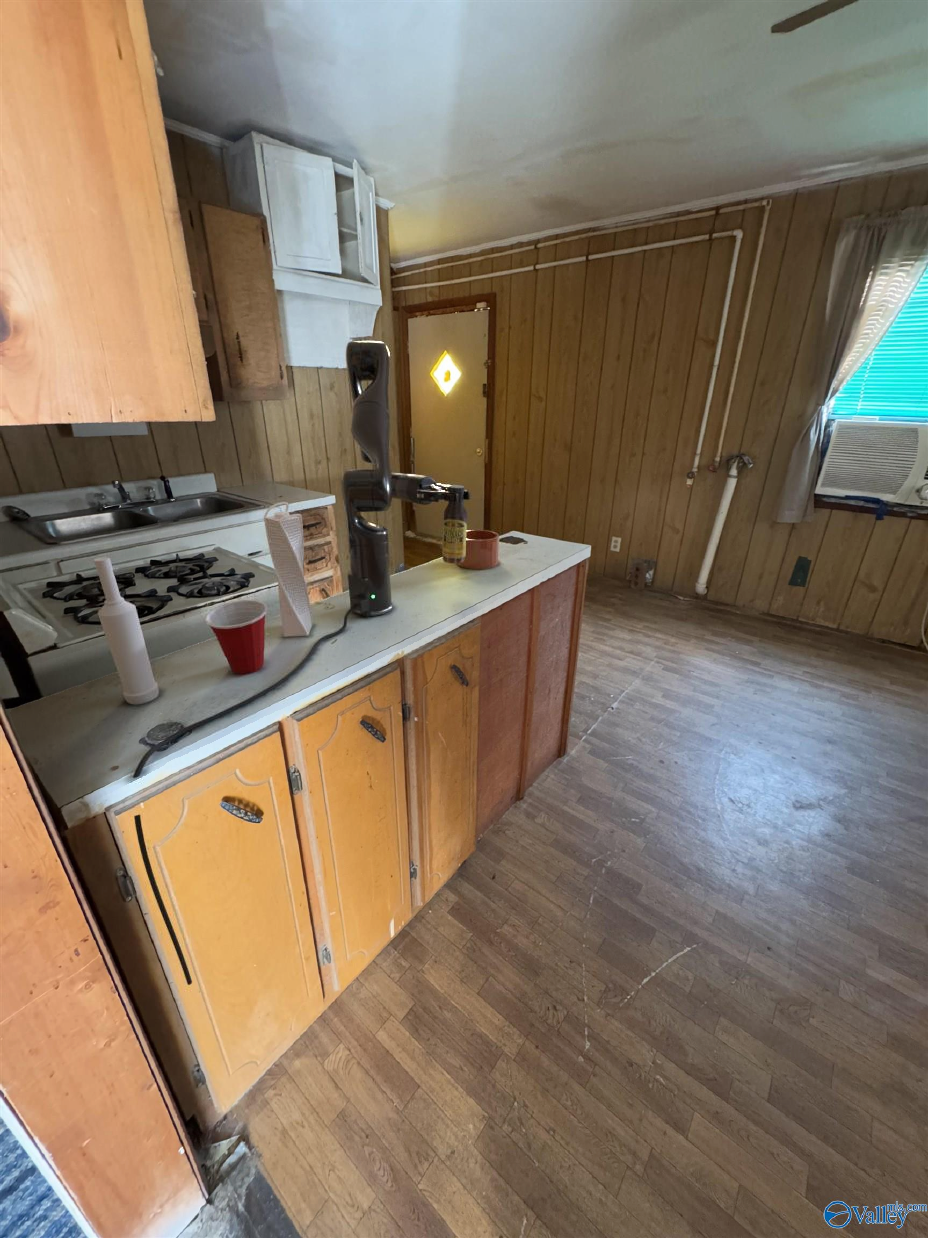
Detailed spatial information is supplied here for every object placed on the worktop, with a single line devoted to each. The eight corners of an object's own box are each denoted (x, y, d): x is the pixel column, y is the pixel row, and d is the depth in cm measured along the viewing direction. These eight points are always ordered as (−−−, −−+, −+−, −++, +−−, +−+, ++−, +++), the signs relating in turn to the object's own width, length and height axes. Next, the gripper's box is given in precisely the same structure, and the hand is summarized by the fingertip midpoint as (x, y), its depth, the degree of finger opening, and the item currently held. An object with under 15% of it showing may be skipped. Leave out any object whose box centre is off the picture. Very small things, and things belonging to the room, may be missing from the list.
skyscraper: (285, 623, 115) (267, 501, 104) (318, 622, 116) (303, 500, 105) (277, 639, 108) (256, 509, 97) (313, 637, 109) (296, 508, 97)
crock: (480, 572, 150) (481, 542, 146) (449, 563, 157) (448, 535, 154) (506, 562, 159) (507, 534, 155) (474, 554, 166) (475, 527, 163)
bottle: (123, 708, 84) (77, 565, 74) (128, 692, 89) (85, 556, 78) (158, 701, 86) (118, 561, 76) (161, 686, 90) (124, 552, 80)
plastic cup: (203, 677, 94) (189, 618, 89) (242, 651, 103) (231, 596, 98) (252, 686, 91) (240, 626, 86) (288, 658, 100) (279, 603, 95)
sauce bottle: (440, 564, 133) (439, 487, 124) (445, 556, 138) (444, 483, 130) (464, 565, 132) (465, 488, 124) (468, 558, 137) (469, 484, 129)
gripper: (395, 477, 130) (444, 484, 120) (433, 472, 140) (481, 478, 130) (396, 506, 133) (444, 516, 123) (433, 499, 143) (480, 507, 133)
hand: (463, 496), depth 126 cm, fingers closed on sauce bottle, 4 cm apart
